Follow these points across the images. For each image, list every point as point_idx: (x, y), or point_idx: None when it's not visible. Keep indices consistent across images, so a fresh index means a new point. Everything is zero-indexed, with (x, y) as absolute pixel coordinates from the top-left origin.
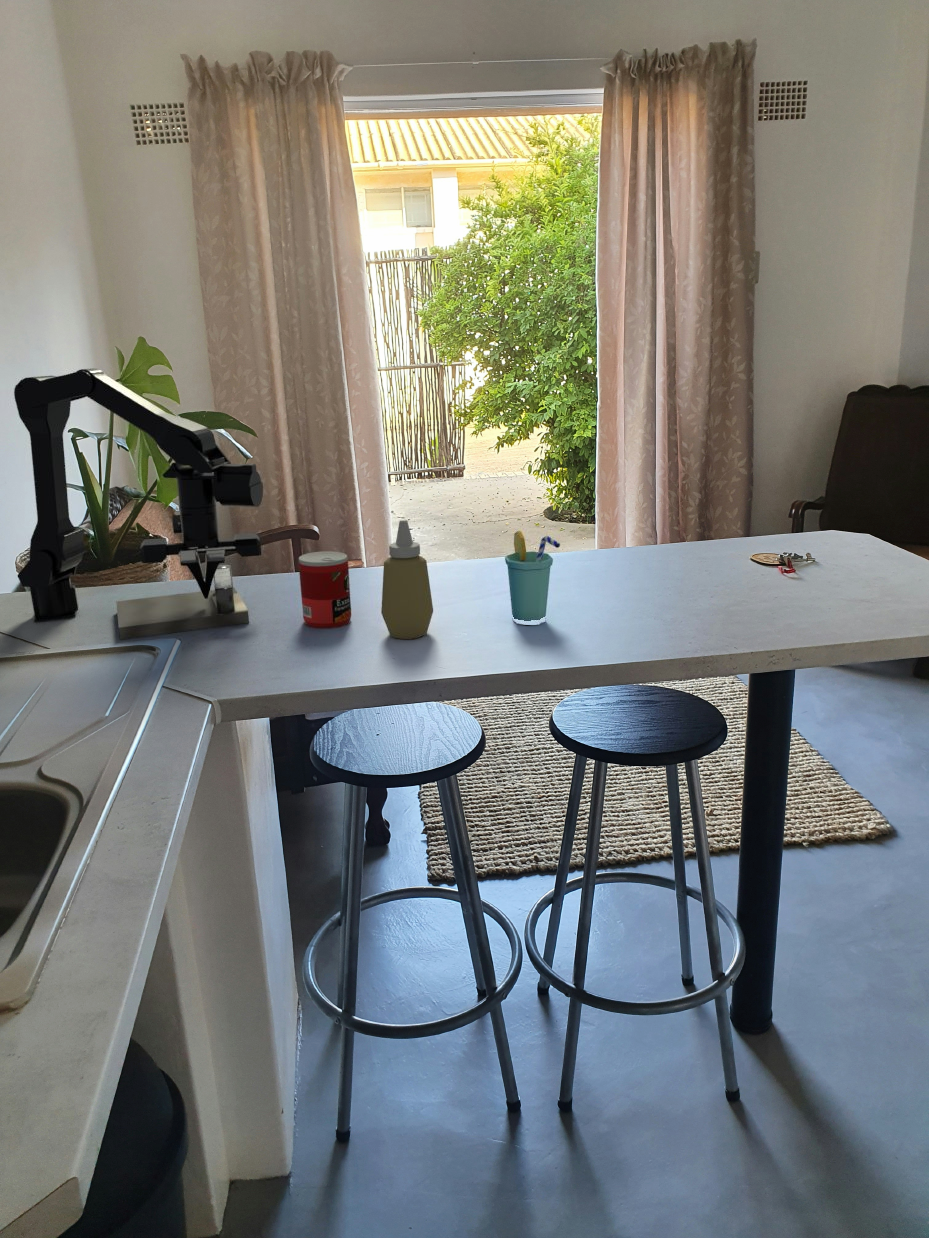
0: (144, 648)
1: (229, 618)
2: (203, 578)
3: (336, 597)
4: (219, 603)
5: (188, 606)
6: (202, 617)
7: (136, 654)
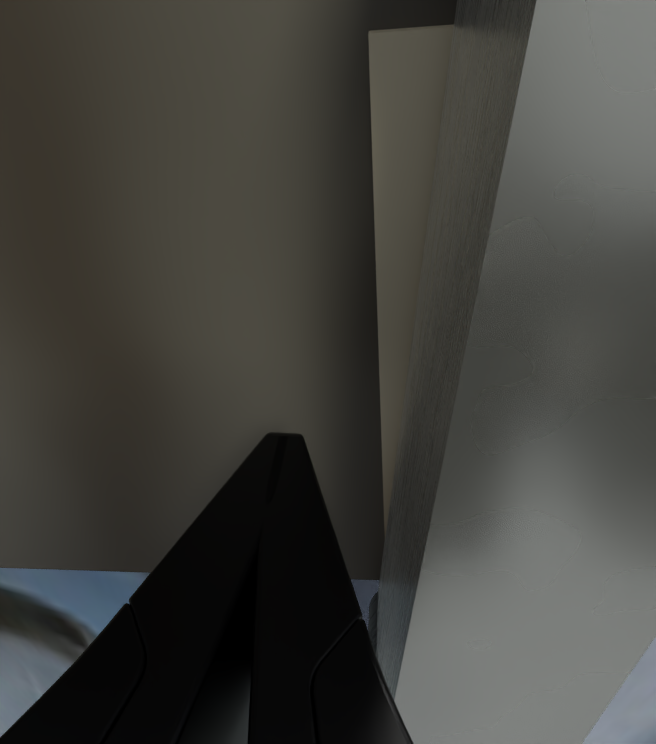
0: (28, 617)
1: None
2: (238, 712)
3: None
4: None
5: (115, 311)
6: None
7: (20, 652)
